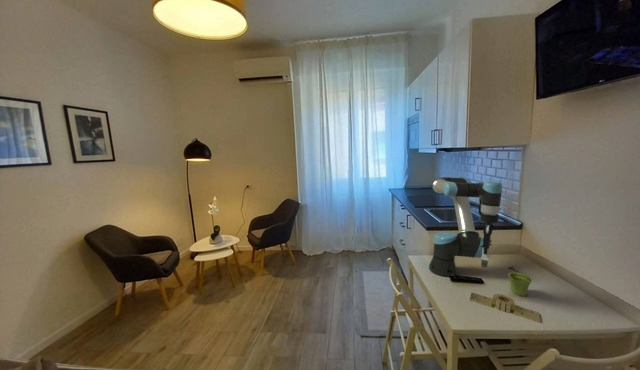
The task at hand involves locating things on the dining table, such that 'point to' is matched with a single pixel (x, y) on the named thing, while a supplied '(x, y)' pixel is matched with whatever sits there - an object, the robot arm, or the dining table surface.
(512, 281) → the plant pot
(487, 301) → the hinge
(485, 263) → the pin
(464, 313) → the dining table surface
